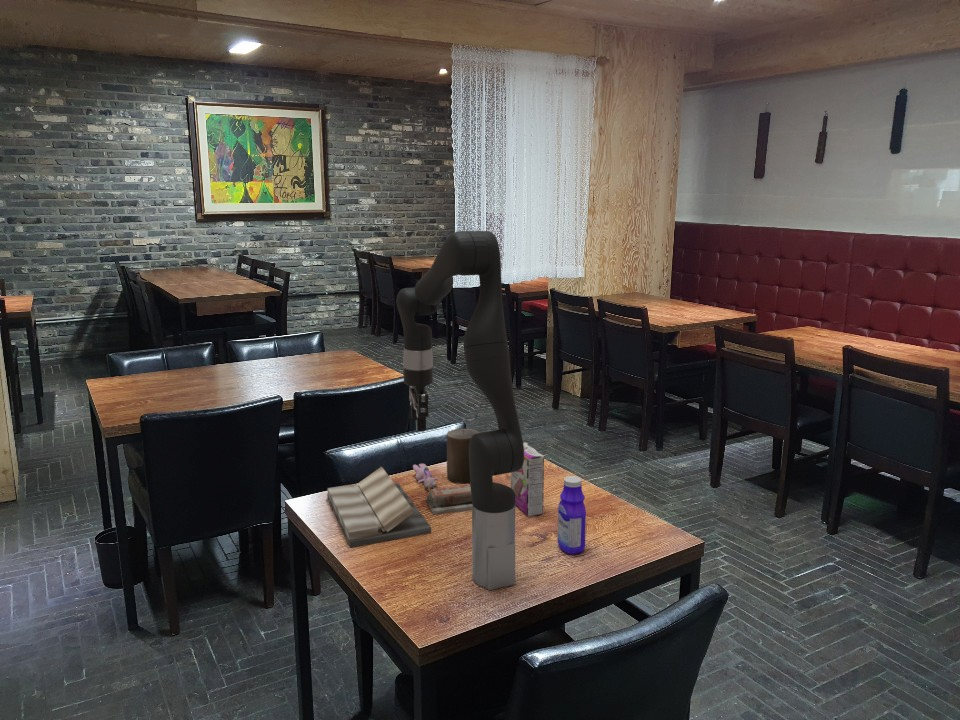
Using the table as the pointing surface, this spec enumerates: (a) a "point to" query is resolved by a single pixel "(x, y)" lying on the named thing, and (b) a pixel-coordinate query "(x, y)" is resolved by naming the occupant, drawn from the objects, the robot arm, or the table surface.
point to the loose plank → (385, 499)
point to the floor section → (370, 518)
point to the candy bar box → (529, 482)
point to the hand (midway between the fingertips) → (418, 425)
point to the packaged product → (450, 499)
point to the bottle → (572, 516)
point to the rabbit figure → (425, 476)
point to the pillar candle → (459, 455)
